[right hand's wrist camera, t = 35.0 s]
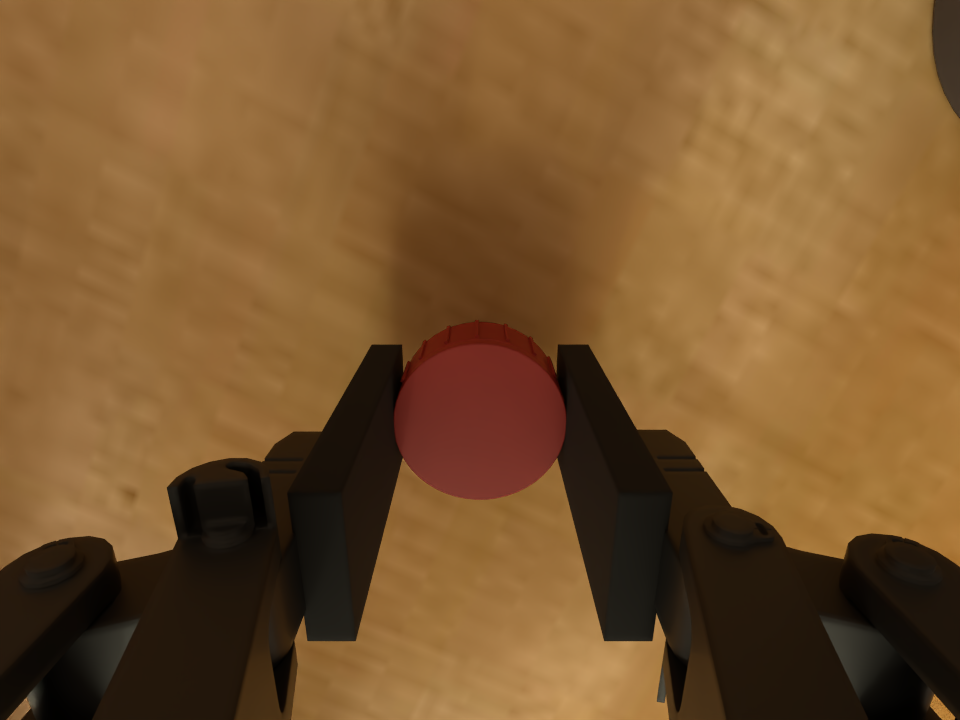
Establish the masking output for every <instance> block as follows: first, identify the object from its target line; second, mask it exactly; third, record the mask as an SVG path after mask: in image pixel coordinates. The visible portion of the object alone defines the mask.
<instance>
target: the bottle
mask: <svg viewBox="0 0 960 720" xmlns="http://www.w3.org/2000/svg"><path fill="white" fill-rule="evenodd" d="M932 33H933V49H934V58H935V63H936V68H937V73H938V77H939V80H940V82H941V85H942V88H943V91H944V94H945V96H946V97H947V99H948V101H949V103H950V105H951V106H952V108H953V110H954V111H955V113H956V114H957V115H958V116H959V118H960V0H935V5H934V16H933V31H932Z"/></svg>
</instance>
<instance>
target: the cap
mask: <svg viewBox="0 0 960 720" xmlns="http://www.w3.org/2000/svg"><path fill="white" fill-rule="evenodd" d="M556 377H557V376H556V373H555V370H554V367H553V364H552V361H551V358H550V357H549V356H548V357H547V356H546V355H545V354H544V352H543V351H542V350H541V349H540V347H539V346H538V345H536V344H535V343H534V342H533V338H532V337H531V336H530V337H529V338H528V337H527V336H525V335H524V334H522V333H520V332H518V331H517V330H515V329H512V328H510V327H508V325H507V324H504V325H500V324H496V323H488V322H479V320H475V322H471V323H464V324H460V325H456V326H453V327H450V326H447V329H446V330H443V331H441V332H440V333H438V334H436V335H434V336H433V337H432V338H431V339H429V340H428V341H426V340H424V341H423V344H422V347H421V348H420V349H419V350H418V351H417V352H416V354H415V355H414V356H413V358H412V360H411V362H409V361H408V362H407V364H406V367H405V370H404V373H403V376H402V378H401V381H400V382H402V385H401V388H400V390H399V393H398V396H397V399H396V403H395V407H394V432H395V439H396V443H397V446H398V448H399V451H400V453H401V455H402V456H403V458H404V460H405V461H406V463H407V464H408V466H409V467H410V468H411V469H412V470H413V472H414V473H415V474H416V475H417V476H418V477H420V478H421V479H422V480H423V481H425V482H426V483H427V484H429V485H430V486H432V487H434V488H435V489H437V490H440V491H442V492H444V493H446V494H449V495H452V496H456V497H460V498H465V499H475V500H485V499H494V498H500V497H504V496H508V495H511V494H513V493H516V492H519V491H521V490H523V489H525V488H526V487H528V486H530V485H531V484H533V483H534V482H536V481H537V480H538V479H539V478H540V477H541V476H543V475H544V474H545V473H546V471H547V470H548V469H549V468H550V467H551V466H552V464H553V463H554V461H555V460H556V458H557V457H558V455H559V453H560V451H561V448H562V445H563V443H564V440H565V432H566V407H565V403H564V398H563V395H562V392H561V389H560V386H559V383H558V381H557V379H556Z"/></svg>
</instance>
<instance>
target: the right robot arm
mask: <svg viewBox="0 0 960 720" xmlns="http://www.w3.org/2000/svg"><path fill="white" fill-rule="evenodd" d="M402 376H403V355H402V345H371V347H370V349H369V350H368V352H367V354H366V356H365V357H364V359H363V361H362V363H361V364H360V366H359V368H358V370H357V371H356V373H355V375H354V377H353V378H352V380H351V382H350V384H349V385H348V387H347V389H346V391H345V392H344V394H343V396H342V398H341V399H340V401H339V403H338V405H337V406H336V408H335V410H334V412H333V413H332V415H331V417H330V419H329V420H328V422H327V424H326V426H325V427H324V429H323V431H322V432H293V433H291V434H290V435H288V436H287V437H285V438H284V439H282V440H280V441H279V442H277V443H276V444H275V445H274V446H273V448H272V449H271V450H270V452H269V453H268V455H267V456H266V457H265V461H263V462H260V461H256V460H252V459H248V458H228V459H223V460H217V461H212V462H208V463H205V464H203V465H200V466H197V467H194V468H192V469H190V470H188V471H186V472H185V473H183V474H181V475H180V476H178V477H176V478H175V479H174V481H173V482H172V483H171V484H170V485H169V486H168V487H167V491H168V495H169V500H170V504H171V509H172V513H173V518H174V522H175V527H176V531H177V535H178V540H177V542H176V544H175V546H174V548H173V550H170V551H166V552H162V553H158V554H153V555H148V556H143V557H139V558H134V559H129V560H124V561H119V562H117V561H116V557H115V554H114V550H113V547H112V545H111V544H110V543H108V542H107V541H106V540H105V539H102V538H97V537H91V536H85V537H74V538H66V539H61V540H59V541H53V542H50V543H47V544H44V545H42V546H41V547H39V548H37V549H35V550H32V551H30V552H28V553H26V554H24V555H22V556H21V557H19V558H18V559H16V560H15V561H13V562H12V563H10V564H9V565H7V566H6V567H4V568H3V569H2V570H1V571H0V720H6V719H7V718H8V717H9V716H10V715H11V714H12V713H13V711H14V710H15V709H16V708H17V707H18V706H19V705H20V704H21V702H22V701H23V700H24V699H25V698H26V697H27V698H28V701H29V704H30V706H31V709H30V710H29V711H28V713H27V714H26V715H25V716H24V717H23V718H22V720H291V715H292V707H293V698H294V690H295V682H296V674H297V666H298V663H297V656H296V648H295V642H294V639H295V637H296V634H297V632H298V629H299V626H300V624H301V621H302V618H303V616H304V619H305V626H306V633H307V641H356V638H357V634H358V630H359V626H360V622H361V618H362V614H363V610H364V606H365V603H366V599H367V595H368V591H369V587H370V583H371V579H372V575H373V571H374V567H375V564H376V560H377V556H378V552H379V548H380V544H381V540H382V536H383V532H384V528H385V525H386V521H387V517H388V513H389V509H390V505H391V501H392V497H393V493H394V489H395V485H396V482H397V478H398V474H399V470H400V466H401V462H402V458H403V456H402V455H401V453H400V451H399V448H398V446H397V443H396V439H395V432H394V407H395V403H396V399H397V396H398V393H399V390H400V388H401V385H402V382H400V381H401V378H402ZM556 376H557V377H556V379H557V381H558V383H559V386H560V389H561V392H562V395H563V398H564V403H565V407H566V432H565V440H564V443H563V445H562V448H561V451H560V453H559V455H558V457H557V458H558V462H559V466H560V470H561V474H562V478H563V482H564V486H565V490H566V493H567V497H568V501H569V505H570V509H571V513H572V517H573V521H574V525H575V529H576V533H577V536H578V540H579V544H580V548H581V552H582V556H583V560H584V564H585V568H586V572H587V575H588V579H589V583H590V587H591V591H592V595H593V599H594V603H595V607H596V611H597V614H598V618H599V622H600V626H601V630H602V634H603V638H604V641H652V640H653V633H654V626H655V619H656V613H657V616H658V618H659V621H660V624H661V626H662V629H663V631H664V634H665V636H666V642H665V648H664V655H663V662H662V669H661V675H660V682H659V689H658V696H657V702H662V703H665V697H667V705H668V713H669V720H942V719H941V718H940V717H939V716H938V715H937V714H936V713H935V712H934V710H933V709H932V708H931V707H930V704H931V701H932V698H933V696H934V694H935V695H936V696H937V697H938V698H939V699H940V700H941V702H942V703H943V704H944V705H945V706H946V707H947V708H948V709H949V711H950V712H951V713H952V714H953V715H954V716H955V717H956V718H955V720H960V567H959V566H958V565H956V564H955V563H953V562H952V561H950V560H949V559H947V558H946V557H944V556H943V555H941V554H940V553H938V552H937V551H934V550H932V549H930V548H928V547H925V546H923V545H921V544H919V543H918V542H916V541H913V540H909V539H906V538H905V539H903V538H902V537H898V536H893V535H883V534H872V533H871V534H866V535H861V536H856V537H855V538H854V539H853V540H852V541H850V542H849V543H848V546H847V550H846V554H845V557H844V559H839V558H834V557H829V556H824V555H819V554H814V553H809V552H804V551H800V550H796V549H792V548H789V547H786V545H785V543H784V541H783V539H782V537H781V536H780V535H779V533H778V532H777V531H776V530H775V528H774V527H773V526H772V525H770V524H769V523H767V522H766V521H765V520H763V519H762V518H760V517H759V516H756V515H754V514H752V513H749V512H747V511H744V510H742V509H738V508H734V507H731V505H730V504H729V503H728V501H727V500H726V498H725V497H724V496H723V494H722V493H721V491H720V490H719V489H718V487H717V486H716V484H715V483H714V482H713V480H712V479H711V477H710V476H709V475H708V473H707V472H704V468H703V466H702V465H701V463H700V462H699V461H698V459H696V458H695V455H694V454H693V452H692V451H691V450H690V448H689V447H688V445H687V444H686V443H685V442H684V441H683V440H681V439H680V438H678V437H676V436H675V435H673V434H672V433H670V432H669V431H667V430H637V429H636V427H635V426H634V424H633V422H632V420H631V419H630V417H629V415H628V413H627V412H626V410H625V408H624V406H623V405H622V403H621V401H620V399H619V398H618V396H617V394H616V392H615V391H614V389H613V387H612V385H611V384H610V382H609V380H608V378H607V377H606V375H605V373H604V371H603V370H602V368H601V366H600V364H599V363H598V361H597V359H596V357H595V356H594V354H593V352H592V351H591V349H590V347H589V345H558V354H557V374H556Z"/></svg>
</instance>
